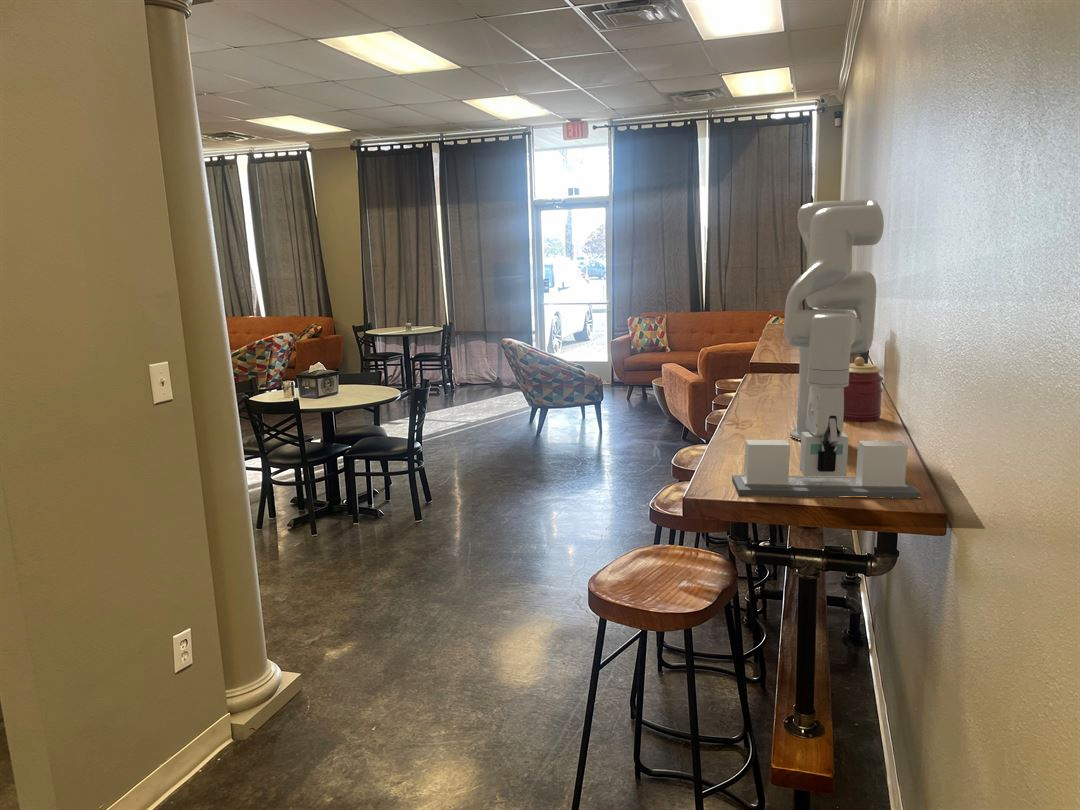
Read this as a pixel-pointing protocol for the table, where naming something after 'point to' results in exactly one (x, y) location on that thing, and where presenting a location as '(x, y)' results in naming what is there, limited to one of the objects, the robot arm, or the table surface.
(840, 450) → the block
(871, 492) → the rail board
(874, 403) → the canister
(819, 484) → the metal rail
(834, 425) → the robot arm
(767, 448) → the mounted modules
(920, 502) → the table surface
